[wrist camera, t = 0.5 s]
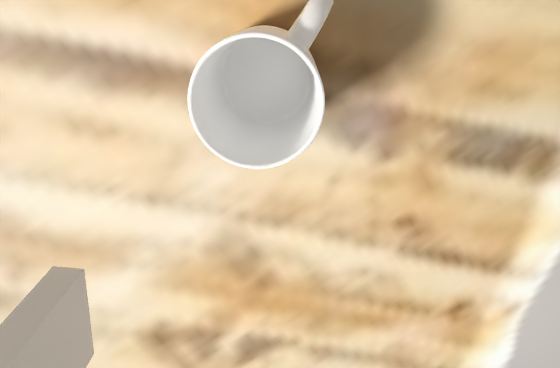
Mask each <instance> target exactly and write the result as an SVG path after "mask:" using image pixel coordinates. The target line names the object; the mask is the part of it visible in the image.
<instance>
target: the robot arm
mask: <svg viewBox="0 0 560 368" xmlns="http://www.w3.org/2000/svg"><path fill="white" fill-rule="evenodd" d="M93 354H94V349H93V341H92V332H91V324H90V315H89V306H88V298H87V289H86V281H85V272H84V269H77V268H66V267H54V266H53V267H52V268H51V269H50V270H49V272H48V273H47V274H46V275H45V276H44V277H43V278H42V279H41V280H40V282H39V283H38V284H37V285H36V286H35V287H34V288H33V289H32V290H31V292H30V293H29V294H28V295H27V296H26V297H25V298H24V299H23V300H22V302H21V303H20V304H19V305H18V306H17V307H16V308H15V309H14V310H13V312H12V313H11V314H10V315H9V316H8V317H7V318H6V319H5V320H4V322H3V323H2V324H1V325H0V368H86V366H87V365H88V363H89V361H90V359H91V358H92V356H93Z"/></svg>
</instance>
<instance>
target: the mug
mask: <svg viewBox="0 0 560 368" xmlns="http://www.w3.org/2000/svg"><path fill="white" fill-rule="evenodd" d="M333 1H334V0H309V1H308V3H307V4H306V6H305V7H304V9H303V10H302V12H301V13H300V15H299V16H298V18H297V19H296V21H295V22H294V24H293V25H292V26H291V28H290V29H289V31H287V30H284V29H282V28H279V27H274V26H269V25H260V26H254V27H249V28H247V29H244V30H242V31H239V32H237V33H235V34H233V35H231V36H229V37H227V38H225V39H223V40H221V41H220V42H218V43H216V44H215V45H214V46H213V47H211V48H210V49H209V50H208V51H207V52H206V53H205V54H204V55H203V56H202V58H201V59H200V60H199V62H198V63H197V65H196V67H195V69H194V71H193V74H192V76H191V79H190V83H189V88H188V109H189V114H190V118H191V121H192V124H193V126H194V128H195V130H196V132H197V134H198V136H199V137H200V139H201V140H202V141H203V143H204V144H205V145H206V146H207V147H208V148H209V149H210V150H211V151H212V152H213V153H215V154H216V155H217V156H218V157H220V158H222V159H223V160H225V161H227V162H229V163H231V164H234V165H237V166H240V167H244V168H250V169H266V168H272V167H277V166H280V165H282V164H285V163H287V162H289V161H291V160H293V159H294V158H296V157H297V156H299V155H300V154H301V153H302V152H304V151H305V150H306V149H307V148H308V146H309V145H310V144H311V143H312V141H313V140H314V139H315V137H316V135H317V133H318V131H319V129H320V127H321V124H322V121H323V117H324V112H325V93H324V88H323V84H322V80H321V77H320V75H319V72H318V69H317V67H316V64H315V61H314V59H313V57H312V55H311V53H310V51H309V48H310V46H311V45H312V43H313V42H314V40H315V38H316V36H317V35H318V33H319V31H320V29H321V28H322V26H323V24H324V22H325V20H326V18H327V16H328V14H329V12H330V10H331V7H332V5H333Z"/></svg>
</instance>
